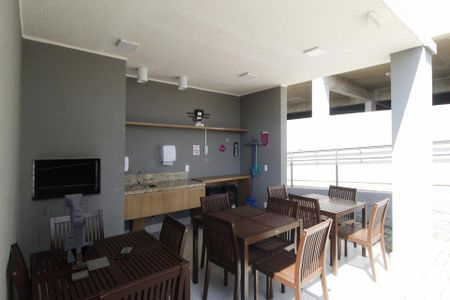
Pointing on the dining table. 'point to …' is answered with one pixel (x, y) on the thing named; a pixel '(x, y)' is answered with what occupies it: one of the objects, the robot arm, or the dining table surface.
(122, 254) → the chocolate bar
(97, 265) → the mat
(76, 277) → the tile
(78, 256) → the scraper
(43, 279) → the dining table surface
